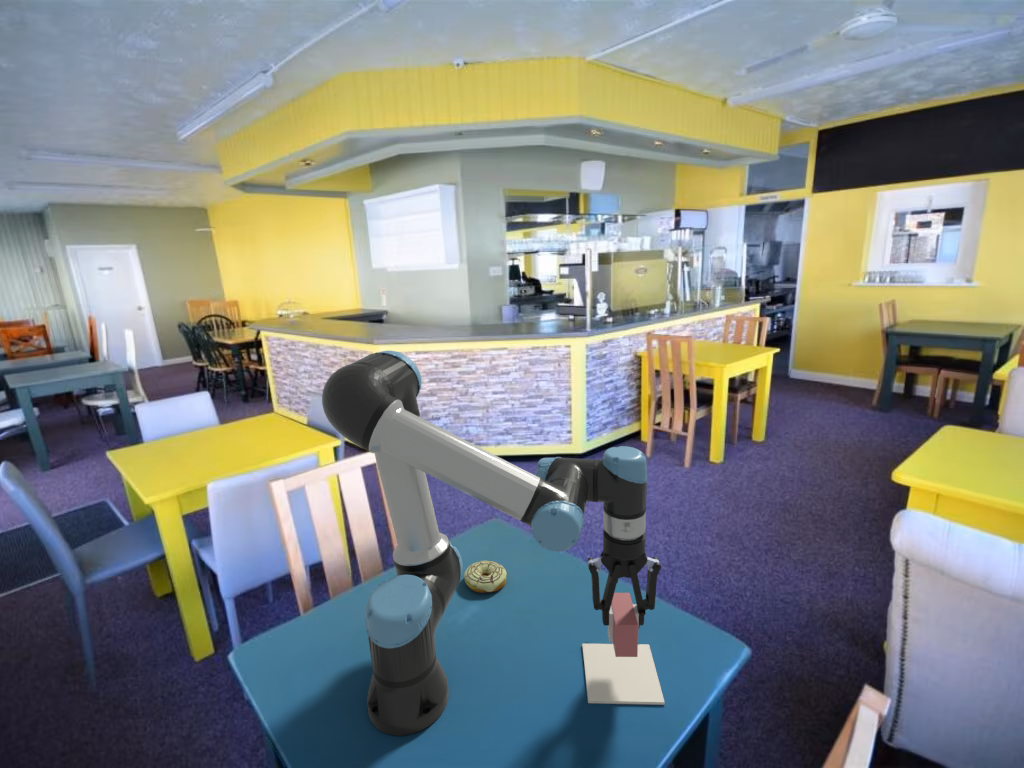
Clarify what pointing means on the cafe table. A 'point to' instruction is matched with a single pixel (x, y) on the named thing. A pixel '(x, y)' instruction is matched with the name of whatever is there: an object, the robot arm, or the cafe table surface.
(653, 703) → the serving mat
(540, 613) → the cafe table surface
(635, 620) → the card deck box
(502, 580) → the decorated donut
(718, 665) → the cafe table surface
